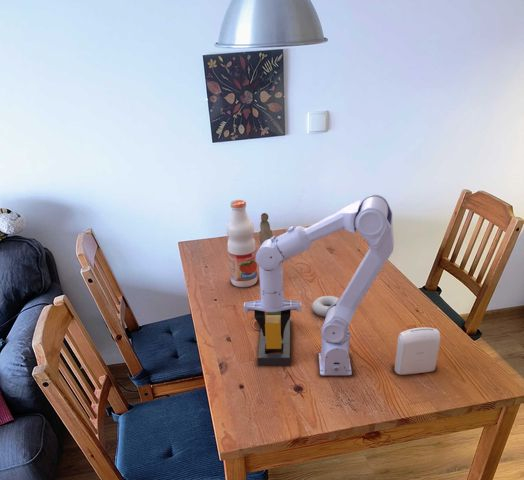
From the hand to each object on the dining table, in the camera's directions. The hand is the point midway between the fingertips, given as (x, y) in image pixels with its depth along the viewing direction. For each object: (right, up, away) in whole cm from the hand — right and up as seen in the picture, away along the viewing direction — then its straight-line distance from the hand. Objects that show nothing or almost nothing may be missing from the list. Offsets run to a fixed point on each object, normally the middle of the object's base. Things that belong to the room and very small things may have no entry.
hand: (273, 334), depth 127 cm
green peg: (+1, +2, +15) cm, 15 cm away
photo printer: (+36, -9, -4) cm, 37 cm away
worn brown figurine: (0, +31, +56) cm, 64 cm away
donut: (+18, +8, +22) cm, 29 cm away
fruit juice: (-9, +20, +41) cm, 47 cm away
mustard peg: (0, -3, +2) cm, 3 cm away
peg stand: (+1, -2, +9) cm, 10 cm away
